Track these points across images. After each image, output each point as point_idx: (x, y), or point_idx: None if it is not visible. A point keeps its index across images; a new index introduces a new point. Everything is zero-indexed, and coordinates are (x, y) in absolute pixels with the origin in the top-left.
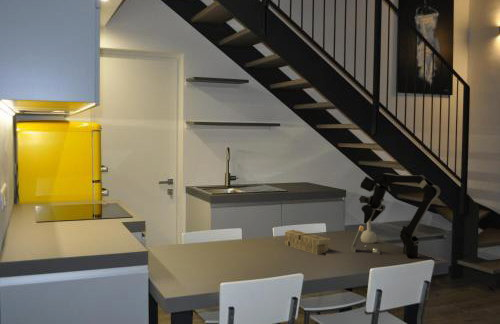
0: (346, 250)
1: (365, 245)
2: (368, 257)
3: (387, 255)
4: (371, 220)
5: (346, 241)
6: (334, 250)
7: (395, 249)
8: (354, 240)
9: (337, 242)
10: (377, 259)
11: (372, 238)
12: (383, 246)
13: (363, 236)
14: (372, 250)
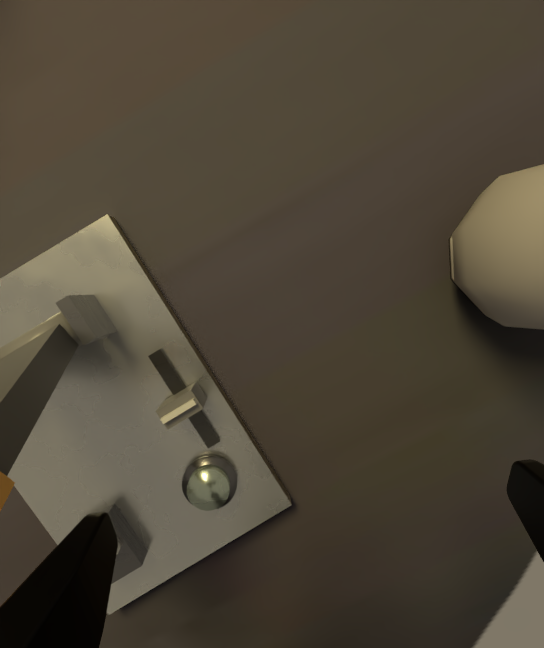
0: None
1: (180, 409)
2: (27, 510)
3: (213, 574)
4: (522, 483)
5: (448, 47)
6: (13, 172)
7: (461, 517)
8: (15, 363)
9: (341, 4)
10: None
11: (505, 316)
12: (496, 397)
13: (485, 222)
14: (186, 468)
